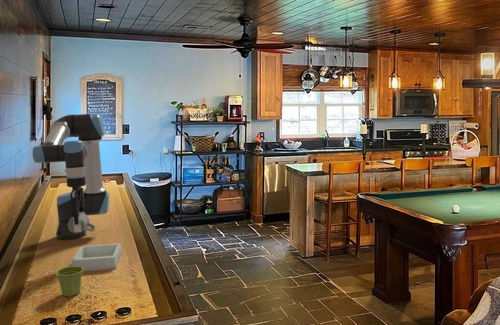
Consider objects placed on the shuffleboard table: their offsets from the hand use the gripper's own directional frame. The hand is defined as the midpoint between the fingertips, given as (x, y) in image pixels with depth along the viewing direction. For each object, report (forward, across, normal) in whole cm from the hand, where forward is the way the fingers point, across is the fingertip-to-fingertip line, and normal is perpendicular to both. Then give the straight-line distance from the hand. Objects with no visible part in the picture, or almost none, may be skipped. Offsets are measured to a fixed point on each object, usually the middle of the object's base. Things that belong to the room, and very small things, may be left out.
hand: (80, 229), depth 200 cm
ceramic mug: (+1, 0, +1) cm, 2 cm away
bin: (+15, 0, +7) cm, 17 cm away
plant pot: (+16, +34, +3) cm, 38 cm away
